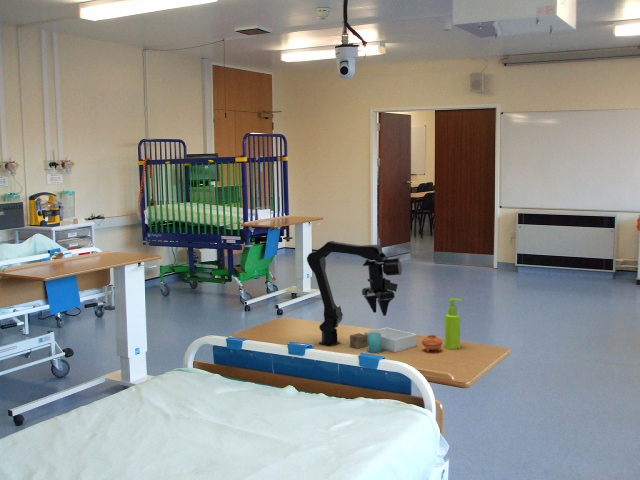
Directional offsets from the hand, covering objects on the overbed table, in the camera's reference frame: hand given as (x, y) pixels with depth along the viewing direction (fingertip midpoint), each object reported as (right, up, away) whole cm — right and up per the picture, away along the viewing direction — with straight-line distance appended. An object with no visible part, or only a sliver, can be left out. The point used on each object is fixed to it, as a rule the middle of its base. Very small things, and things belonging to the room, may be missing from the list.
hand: (379, 314), depth 262 cm
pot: (+20, -14, -5) cm, 25 cm away
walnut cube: (-8, -14, +3) cm, 16 cm away
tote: (+5, -13, +4) cm, 15 cm away
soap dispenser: (+30, -14, -1) cm, 33 cm away
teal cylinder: (-2, -14, -5) cm, 15 cm away
